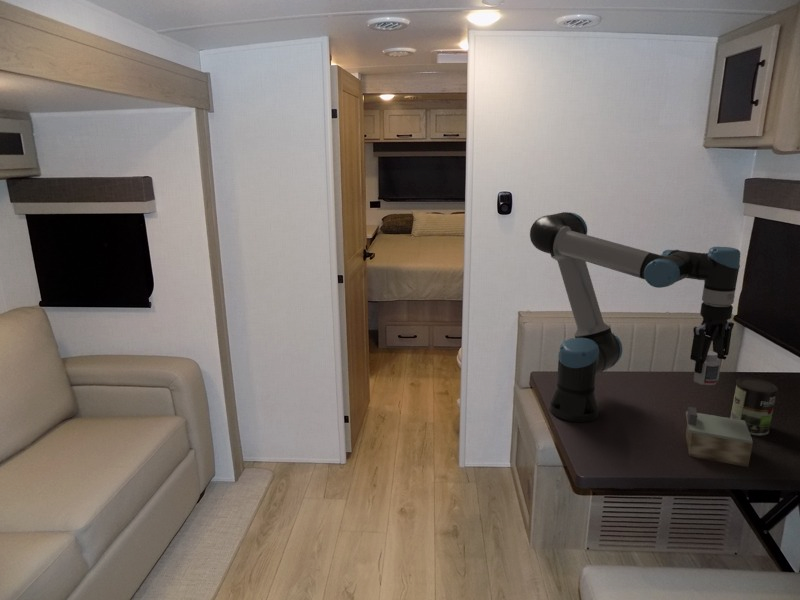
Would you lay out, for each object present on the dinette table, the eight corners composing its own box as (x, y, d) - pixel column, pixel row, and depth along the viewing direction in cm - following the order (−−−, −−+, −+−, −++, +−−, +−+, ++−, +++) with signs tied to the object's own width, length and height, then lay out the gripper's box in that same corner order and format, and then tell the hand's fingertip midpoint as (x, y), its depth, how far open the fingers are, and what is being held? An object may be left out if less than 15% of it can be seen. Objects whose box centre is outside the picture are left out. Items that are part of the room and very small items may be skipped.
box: (688, 455, 144) (692, 433, 142) (685, 436, 154) (688, 415, 152) (748, 467, 139) (752, 443, 137) (740, 446, 149) (745, 424, 147)
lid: (689, 432, 142) (691, 420, 141) (685, 413, 153) (687, 401, 152) (752, 443, 137) (754, 430, 136) (744, 423, 147) (746, 410, 146)
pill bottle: (719, 382, 150) (724, 353, 148) (710, 387, 147) (715, 357, 145) (700, 376, 154) (704, 348, 152) (691, 381, 151) (695, 352, 149)
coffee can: (777, 431, 156) (786, 388, 152) (754, 438, 152) (763, 394, 148) (743, 415, 165) (751, 374, 161) (721, 422, 161) (728, 380, 158)
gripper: (706, 311, 138) (695, 392, 144) (752, 302, 145) (739, 380, 151) (681, 304, 144) (671, 381, 150) (726, 296, 151) (715, 370, 157)
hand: (705, 380), depth 151 cm, fingers closed on pill bottle, 5 cm apart
